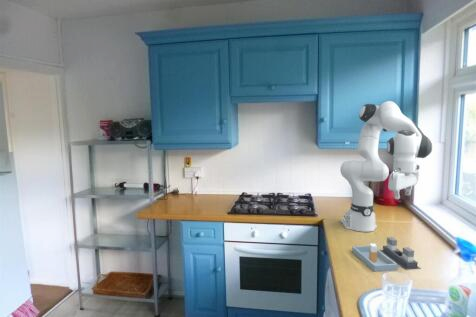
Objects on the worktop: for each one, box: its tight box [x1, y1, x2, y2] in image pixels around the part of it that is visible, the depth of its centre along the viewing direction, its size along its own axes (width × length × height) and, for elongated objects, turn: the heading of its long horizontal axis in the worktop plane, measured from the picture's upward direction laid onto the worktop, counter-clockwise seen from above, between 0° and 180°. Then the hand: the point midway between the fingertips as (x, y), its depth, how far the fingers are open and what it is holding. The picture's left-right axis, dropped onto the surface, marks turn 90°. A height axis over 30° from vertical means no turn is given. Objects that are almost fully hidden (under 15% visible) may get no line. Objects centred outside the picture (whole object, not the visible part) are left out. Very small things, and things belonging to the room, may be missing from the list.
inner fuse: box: [386, 236, 398, 250], centre depth 149 cm, size 4×2×7 cm, turn 6°
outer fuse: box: [402, 246, 415, 262], centre depth 137 cm, size 4×2×7 cm, turn 6°
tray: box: [351, 245, 399, 273], centre depth 142 cm, size 20×10×4 cm, turn 6°
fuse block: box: [379, 245, 422, 271], centre depth 144 cm, size 20×7×4 cm, turn 6°
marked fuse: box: [369, 242, 378, 262], centre depth 142 cm, size 4×2×7 cm, turn 168°
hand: (402, 197), depth 147 cm, fingers open, 8 cm apart
